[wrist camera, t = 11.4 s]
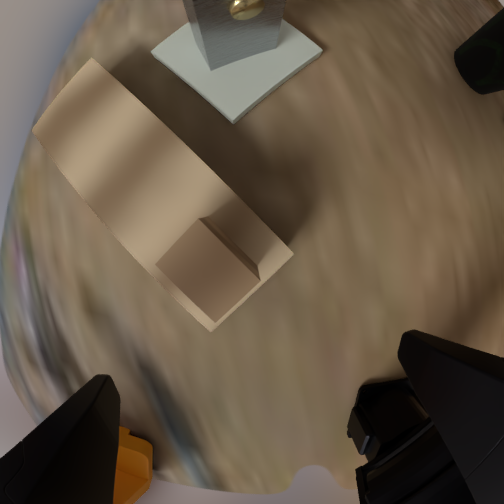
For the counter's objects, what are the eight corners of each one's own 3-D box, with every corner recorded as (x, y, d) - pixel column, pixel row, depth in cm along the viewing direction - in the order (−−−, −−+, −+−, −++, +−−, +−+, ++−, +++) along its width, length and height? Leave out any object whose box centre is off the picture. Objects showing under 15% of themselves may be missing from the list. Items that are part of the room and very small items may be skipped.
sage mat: (319, 56, 17) (322, 50, 16) (233, 124, 18) (232, 120, 17) (238, -3, 16) (238, -9, 15) (154, 57, 17) (150, 51, 16)
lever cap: (279, 54, 16) (300, -30, 7) (213, 77, 16) (193, -6, 8) (258, 21, 16) (265, -62, 7) (195, 43, 16) (170, -39, 7)
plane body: (287, 247, 19) (306, 265, 13) (215, 314, 20) (203, 360, 14) (107, 72, 17) (68, 37, 10) (52, 137, 18) (2, 121, 11)
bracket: (154, 437, 22) (122, 530, 10) (153, 472, 23) (130, 551, 11) (62, 401, 21) (7, 469, 10) (72, 440, 22) (31, 504, 11)
